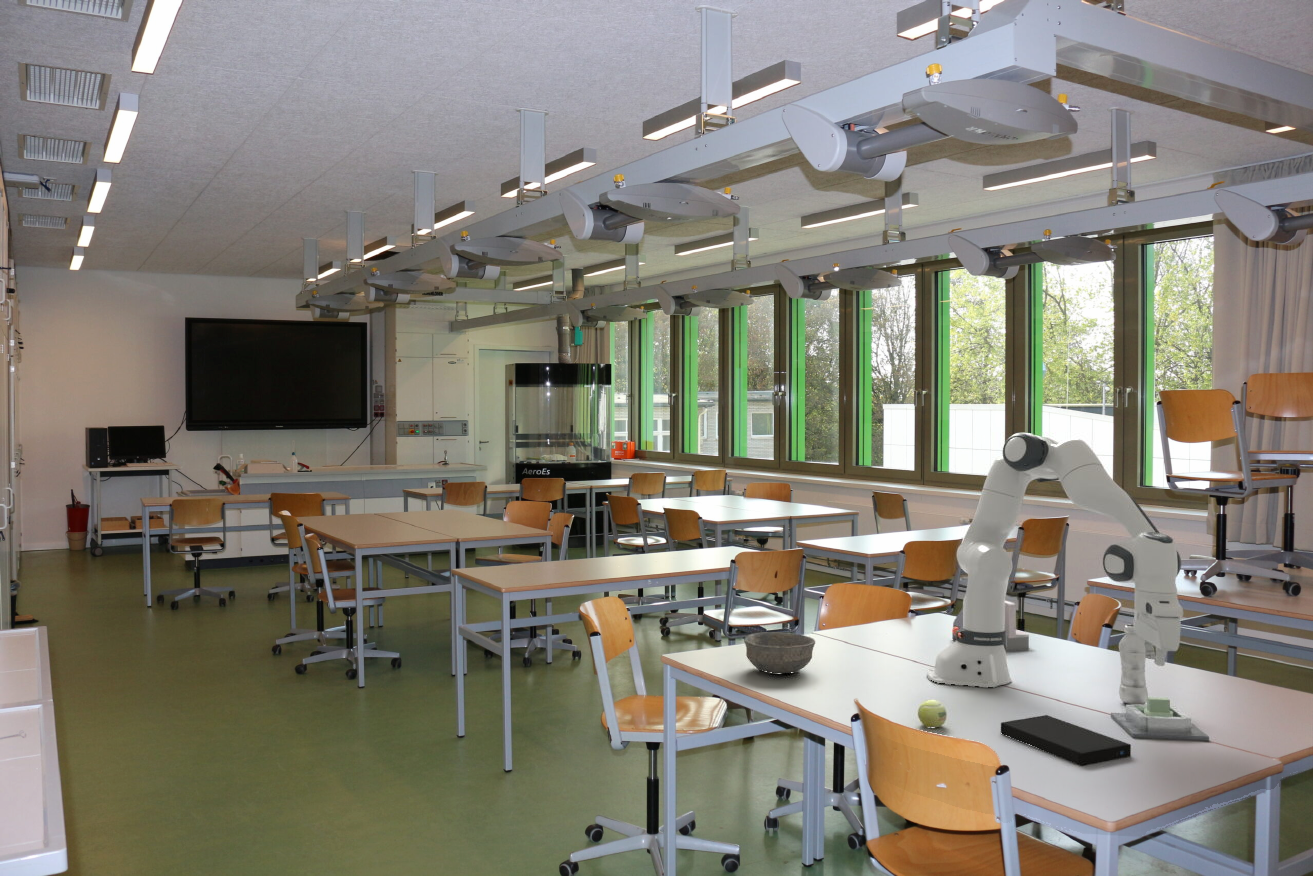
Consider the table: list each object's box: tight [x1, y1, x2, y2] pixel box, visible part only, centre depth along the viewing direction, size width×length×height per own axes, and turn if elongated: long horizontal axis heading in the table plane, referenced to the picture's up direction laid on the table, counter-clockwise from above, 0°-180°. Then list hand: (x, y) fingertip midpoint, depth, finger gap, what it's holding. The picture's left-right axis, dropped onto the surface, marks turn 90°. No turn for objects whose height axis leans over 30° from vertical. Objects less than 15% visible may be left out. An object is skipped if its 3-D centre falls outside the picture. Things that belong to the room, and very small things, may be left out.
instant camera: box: [952, 600, 1030, 652], centre depth 310 cm, size 21×21×15 cm
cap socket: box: [1110, 703, 1210, 742], centre depth 222 cm, size 16×16×4 cm
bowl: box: [743, 631, 816, 674], centre depth 275 cm, size 21×21×10 cm
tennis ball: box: [917, 698, 947, 728], centre depth 225 cm, size 6×7×7 cm
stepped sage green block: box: [1144, 696, 1173, 717], centre depth 222 cm, size 6×6×6 cm
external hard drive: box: [1000, 714, 1132, 767], centre depth 211 cm, size 14×23×3 cm, turn 23°
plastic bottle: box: [1118, 623, 1149, 705], centre depth 241 cm, size 6×7×20 cm
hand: (1154, 661), depth 221 cm, fingers open, 5 cm apart
